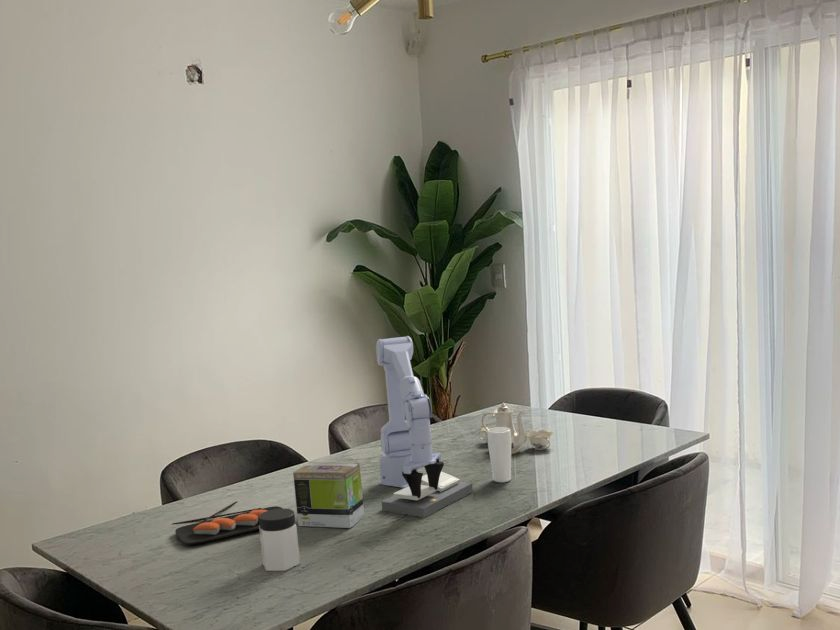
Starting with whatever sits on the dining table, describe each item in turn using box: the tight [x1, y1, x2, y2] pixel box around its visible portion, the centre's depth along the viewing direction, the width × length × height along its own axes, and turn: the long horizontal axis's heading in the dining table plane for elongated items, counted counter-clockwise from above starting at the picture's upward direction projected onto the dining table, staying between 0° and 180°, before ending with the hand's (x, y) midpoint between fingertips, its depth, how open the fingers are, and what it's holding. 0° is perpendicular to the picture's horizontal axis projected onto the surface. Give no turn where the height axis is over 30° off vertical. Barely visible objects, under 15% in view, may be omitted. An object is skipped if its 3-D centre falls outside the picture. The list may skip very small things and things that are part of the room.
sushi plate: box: [171, 501, 284, 545], centre depth 233 cm, size 29×30×4 cm
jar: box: [258, 508, 301, 572], centre depth 199 cm, size 9×8×12 cm
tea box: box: [292, 462, 365, 529], centre depth 226 cm, size 15×10×15 cm, turn 71°
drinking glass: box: [487, 427, 512, 483], centre depth 250 cm, size 7×7×15 cm
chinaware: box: [478, 402, 554, 455], centre depth 284 cm, size 28×17×17 cm, turn 58°
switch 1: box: [392, 485, 437, 500], centre depth 232 cm, size 8×9×1 cm
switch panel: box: [381, 481, 474, 519], centre depth 237 cm, size 14×23×3 cm, turn 144°
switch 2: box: [421, 470, 461, 492], centre depth 241 cm, size 8×9×1 cm
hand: (425, 493), depth 230 cm, fingers open, 7 cm apart
